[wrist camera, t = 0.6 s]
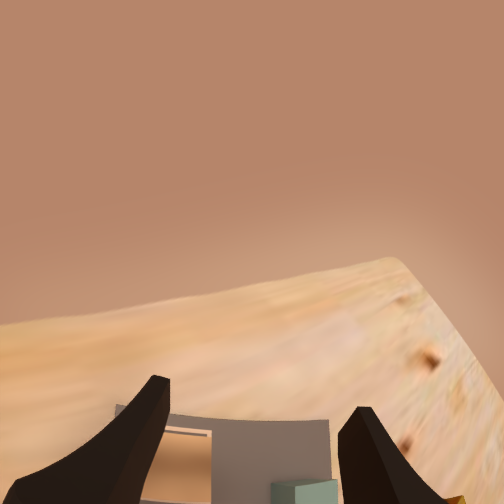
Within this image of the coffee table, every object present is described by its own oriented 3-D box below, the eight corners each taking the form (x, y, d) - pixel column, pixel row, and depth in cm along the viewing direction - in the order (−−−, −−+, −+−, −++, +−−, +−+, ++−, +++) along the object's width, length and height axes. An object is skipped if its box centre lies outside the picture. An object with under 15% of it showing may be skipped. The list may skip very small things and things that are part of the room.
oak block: (201, 496, 20) (211, 502, 17) (133, 490, 18) (135, 496, 15) (202, 437, 23) (211, 437, 21) (136, 429, 21) (138, 428, 19)
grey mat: (329, 529, 21) (333, 530, 20) (112, 540, 14) (112, 542, 13) (325, 420, 29) (329, 419, 29) (116, 404, 22) (116, 404, 22)
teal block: (311, 515, 21) (338, 520, 18) (271, 521, 20) (295, 530, 16) (310, 478, 24) (337, 479, 21) (270, 483, 22) (294, 486, 19)
